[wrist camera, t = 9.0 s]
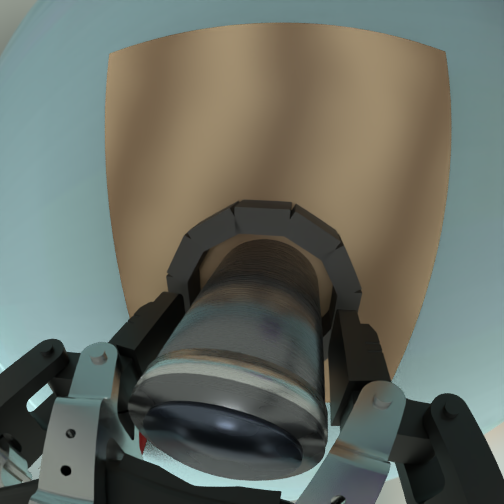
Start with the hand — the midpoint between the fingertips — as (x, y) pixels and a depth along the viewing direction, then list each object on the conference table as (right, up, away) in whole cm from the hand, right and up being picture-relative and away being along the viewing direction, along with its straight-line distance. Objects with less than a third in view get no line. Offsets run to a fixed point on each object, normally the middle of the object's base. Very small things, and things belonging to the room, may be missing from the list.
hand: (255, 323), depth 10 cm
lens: (0, +1, +2) cm, 3 cm away
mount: (+1, +3, +3) cm, 4 cm away
